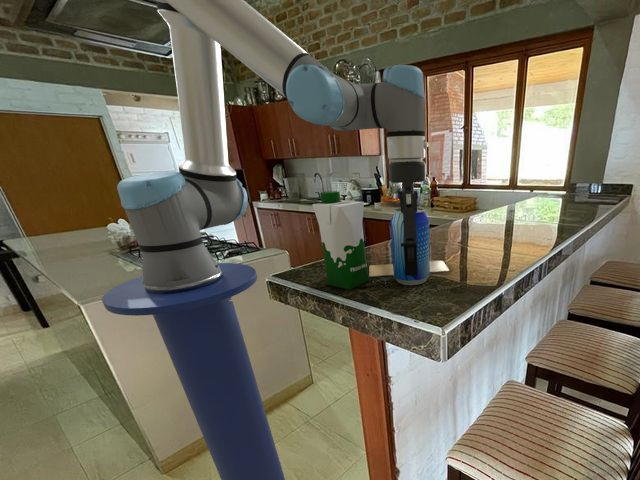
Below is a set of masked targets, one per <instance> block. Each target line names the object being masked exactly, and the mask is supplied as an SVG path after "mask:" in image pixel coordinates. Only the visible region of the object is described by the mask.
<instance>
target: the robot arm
mask: <svg viewBox="0 0 640 480" xmlns="http://www.w3.org/2000/svg"><path fill="white" fill-rule="evenodd" d="M155 2H156V5H157V6H156V7H157V13H158V15H160V17H162V19H163V20H164V21H165V22H166V24H167V25H168V28H169V35H170V36H169V37H170V44H171V50H172V52H171V53H172V61H173V68H174V76H175V77H174V78H175V84H176V93H177V101H178V107H179V108H178V109H179V117H180V125H181V133H182V142H183V150H184V156H185V158H184V159H183V160H182V161H181V162H180V163H179V164H178V171H160V172H153V173H145V174H144V173H143V174H139V175H136V176H135V175H134V176H129V177H126V178H124V179H122V180H120V181H119V182H118V184H117V187H116V189H117V192H118V196H119V199H120V205H121V207H122V208H123V209H124V211H125V214H126V217H127V219H128V221H129V225H130V227H131V229H132V232H133V235H134V238H135V240H136V242H137V245H138V247H139V249H140V252H141V257H142V260H141V261H142V265H141V266H142V269H141V270H142V271H141V272H142V276H143V278H142V281H143V285H144V287H145V290H146V291H147V292H149V293H154V294H169V293H178V292H184V291H190V290H194V289H198V288H202V287H205V286H208V285H210V284H213V283H215V282H217V281H218V280H220V279H221V278H222V276H223V275H222V272H221V269H220V267H219V266H218V264H217V263H218V262H217V261H216V260H215V259H214V257H213V256H212V254H211V252H209V251H210V250H208V249H207V247H206V246H205V243H204V239H203V236H202V233H201V231H203V230H206V229H210V228H215V227H219V226H227V225H229V224H231V223H233V222H236V221H238V220H240V219H241V218H242V217H243V216H244V215H245V214H246V212H247V209H248V203H249V200H248V199H249V198H248V193H247V190H246V188H245V187H243V183H242V182H241V181H240V180H239V179H238V178H237V171H236V170H235V169H234V168H233V167H232V166H231V165H230V163H229V151H228V137H227V122H226V109H225V107H226V106H225V94H224V93H225V91H224V79H223V76H224V75H223V63H222V61H223V60H222V49H221V48H223V49H224V50H226V51H227V52H228V53H229V54H231V55H232V56H233V57H234V58H236V59H237V60H238V61H240V62H241V63H242V64H243V65H245V67H247V68H248V69H249V70H251V71H252V72H253V73H254V74H255V75H257V76H258V77H259V78H261V80H263V81H264V82H266V83H267V84H268V85H269V86H271V87H272V88H273V89H274V90H276V91H277V92H278V93H279V94H280V95H282V96H283V97H285V98H286V99H287V102H288V103H289V105H290V107H291V109H292V111H293V112H294V113H295V115H297V117H299V118H300V119H301V120H304V121H306V122H307V123H308V122H309V123H311V124H313V125H316V126H327V127H328V126H330V128H331V129H332V130H335V131H344V132H351V131H357V130H374V129H375V130H376V129H382V130H383V129H386V145H387V147H386V150H387V159H388V160H390V162H389V164H388V175H389V181H390V182H391V183H394V184H401V185H402V190H399V191H398V200H399V203H400V208H401V213H403V223H404V243H401V247H404V259H405V276H409V275H418V271H417V240H416V219H415V213H416V212H417V208H418V201H419V192H418V190H415V189H414V183H422V182H425V181H426V179H427V170H426V168H427V167H426V166H427V163H425V161H423V159H425V158H426V149H425V148H428V147H429V142H428V141H425V140H426V137H425V136H426V122H425V121H426V111H425V110H426V95H425V84H424V73H423V71H422V69H420V68H419V67H418V66H414V65H408V64H397V65H396V64H395V65H393V66H387V67H386V68H384V69H383V73H382V74H383V75H382V81H379V82H375V83H355V82H352V81H350V80H348V79H345V78H343V77H341V76H339V75H336V74H335V73H334V72H332V71H330V69H328V68H327V67H326V66H325V65H323V64H322V63H321V62H320V61H318V60H317V59H316V58H314V57H313V56H312V55H311V54H309V52H307V51H306V50H305V49H304V48H302V47H301V46H300V45H299V44H298V43H296V42H295V41H294V40H293V39H291V37H289V36H288V35H286V34H285V32H283V31H282V30H280V29H279V27H277V26H276V25H275V24H273V23H272V22H271V21H269V20H268V19H267V18H266V17H265V16H264V15H263V14H261V13H260V12H259V11H257V9H255V8H254V7H252V6H251V4H249V3H248V2H247V1H245V0H155Z"/></svg>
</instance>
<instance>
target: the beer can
mask: <svg viewBox="0 0 640 480" xmlns="http://www.w3.org/2000/svg"><path fill="white" fill-rule="evenodd" d="M393 212H394V213H393V215H392V217H391V219H390V234H391V235H390V237H391V255H392V256H391V257H392V264H393V273H394V276H393V277H394V279H395V280H396V281H397V283H399V284H400V285H404V286H417V285H422V284H424V283H426V282H427V279H428V278H429V277H430V274H431V273H430V265H429V261H430V219H429V217H428V215H427V214H426V212H425V208H423V207H417V212H416V213H415V219H416V240H417V271H418V275H409V276H405V259H404V247H401V243H404V223H403V213H401V207H399V208H396V209H394V210H393Z"/></svg>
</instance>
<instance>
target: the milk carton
mask: <svg viewBox="0 0 640 480" xmlns="http://www.w3.org/2000/svg"><path fill="white" fill-rule="evenodd" d="M319 195H320V201H321V202H316V203H313V204H312V208H313V211H314V214H315V217H316V220H317V223H318V226H319V232H320V233H319V234H320V239H321V246H322V252H323V259H324V267H325V277H326V278H325V279H326V285H327V286H331V287H336V288H341V289H345V290H352V289H355V288H356V287H358V286H362V285H363V284H365V283H367V282H369V281H370V277H369V268H368V265H367V257H366V247H365V238H364V227H363V219H364V218H363V217H364V205H365V202H364V201H356V200H345V199H344V200H341V194H340V191H337V190H336V191H335V190H334V191H332V190H331V191H321V192H320V194H319Z"/></svg>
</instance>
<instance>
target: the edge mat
mask: <svg viewBox="0 0 640 480" xmlns="http://www.w3.org/2000/svg"><path fill="white" fill-rule="evenodd" d="M429 265H430V274H435V273H448V272H450V269H449V267H448V266H447V264H445V262H444V261H443V260H429ZM368 274H369V278H381V277H394V273H393V263H388V264H370V265H369V267H368Z"/></svg>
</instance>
